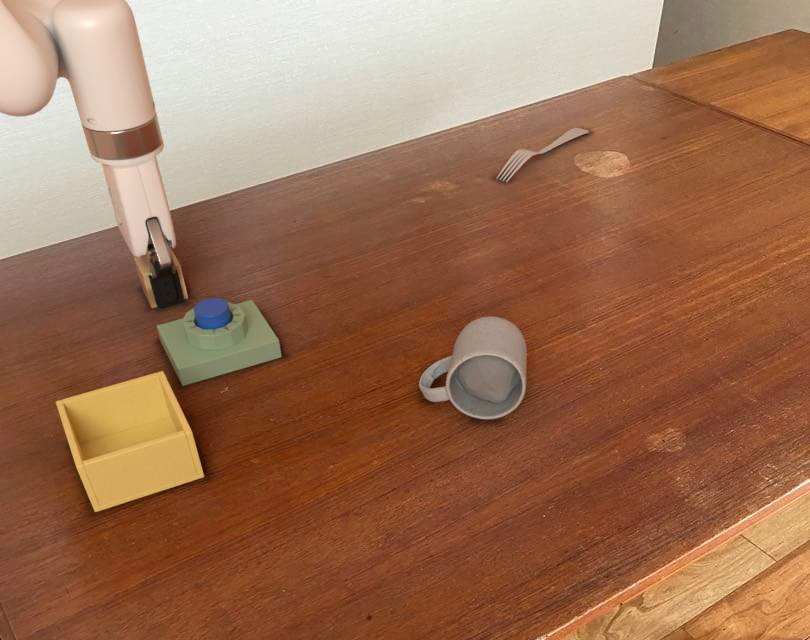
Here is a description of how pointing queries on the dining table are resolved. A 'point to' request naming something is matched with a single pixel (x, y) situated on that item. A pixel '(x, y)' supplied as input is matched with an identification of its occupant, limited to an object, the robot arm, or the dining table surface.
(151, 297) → the block
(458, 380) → the ceramic mug
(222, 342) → the green socket base
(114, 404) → the bin
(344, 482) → the dining table surface
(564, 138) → the fork
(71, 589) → the dining table surface
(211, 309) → the blue short cylinder
